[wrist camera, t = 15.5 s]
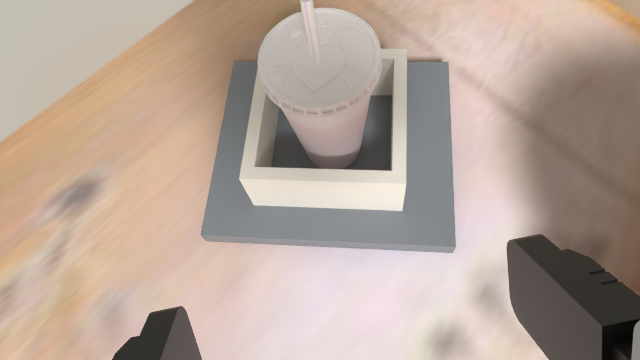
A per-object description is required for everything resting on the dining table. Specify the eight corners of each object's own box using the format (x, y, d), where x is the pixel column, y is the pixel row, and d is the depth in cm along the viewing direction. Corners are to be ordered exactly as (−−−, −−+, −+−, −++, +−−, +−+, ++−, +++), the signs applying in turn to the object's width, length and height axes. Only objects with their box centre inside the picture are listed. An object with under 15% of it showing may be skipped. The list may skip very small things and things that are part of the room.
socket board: (206, 241, 33) (178, 211, 28) (238, 71, 38) (219, 24, 34) (452, 252, 31) (467, 223, 26) (446, 72, 37) (456, 22, 32)
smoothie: (280, 185, 32) (219, 45, 20) (293, 103, 35) (247, -66, 22) (377, 191, 32) (378, 50, 19) (383, 107, 34) (388, -67, 21)
